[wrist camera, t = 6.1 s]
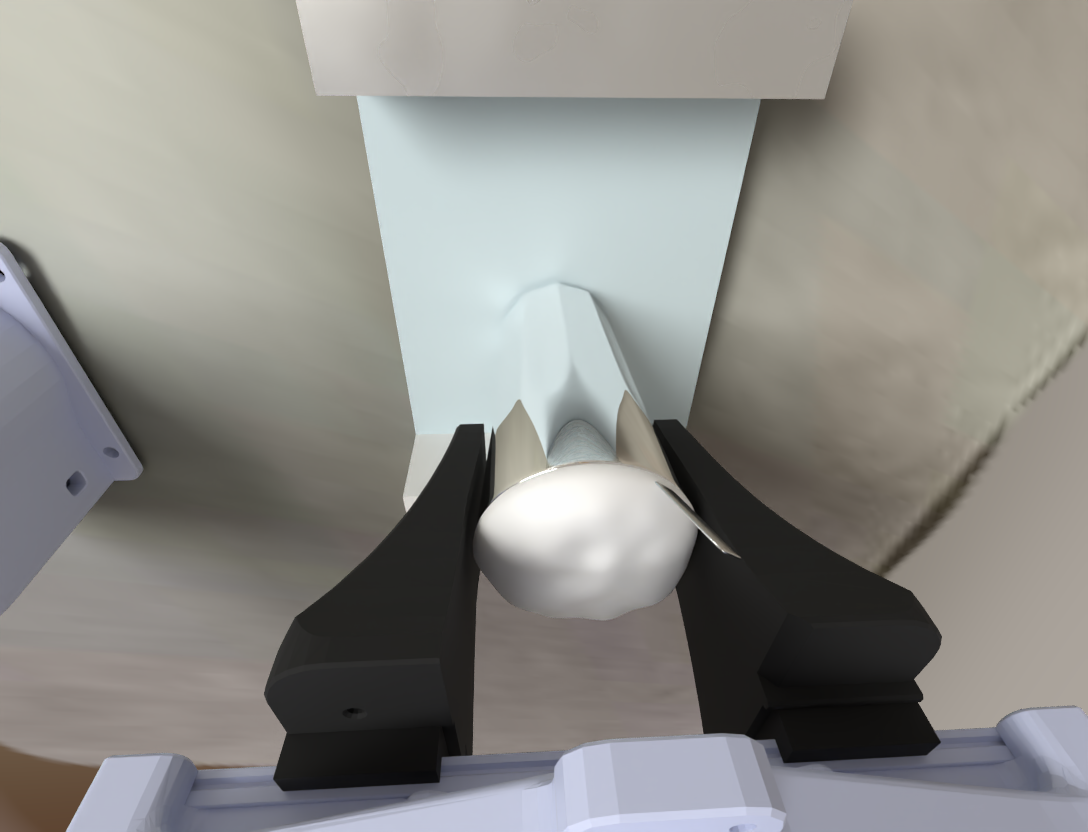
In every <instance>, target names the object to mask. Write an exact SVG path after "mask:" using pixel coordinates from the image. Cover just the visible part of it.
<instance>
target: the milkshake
mask: <svg viewBox="0 0 1088 832" xmlns="http://www.w3.org/2000/svg"><path fill="white" fill-rule="evenodd" d="M698 528H699V529H700V530H701V531H702V532H703V533H704V534H705V535H706V536H707V537H708V538H709V539H710V540H711V541H712V542H713V543H714V545H715V546H716V547H717V548H718V549H719V550H720V551H722V552H723V553H724V554H726V555H729V556H731V557H733V558H735V559H738V560H741V557H740V556H739V555H738V554H737V553H736V552H735V551H734V550H733V549H732V548H731V547H730V546H729V545H728V544H727V543H726V542H725V541H724V540H723V539H722V538H721V537H720V536H719V535H718V534H717V533H716V532H715V531H714V530H713V529H712V528H711V527H710V526H709V525H708V524H707V523H706V522H705V521H704V520H703V519H702V518H701V517H700V516H699V515H698V514H697V513H696V512H695V511H694V509H693V507H692V505H691V503H690V502H689V500H688V498H687V496H686V494H685V491H684V489H683V487H682V485H681V483H680V481H679V479H678V477H677V475H676V472H675V470H674V468H673V466H672V464H671V462H670V460H669V458H668V455H667V453H666V451H665V449H664V447H663V445H662V443H661V441H660V439H659V436H658V434H657V432H656V430H655V428H654V426H653V424H652V422H651V420H650V418H649V415H648V413H647V411H646V408H645V406H644V404H643V401H642V399H641V396H640V394H639V392H638V389H637V387H636V385H635V382H634V380H633V377H632V375H631V373H630V370H629V368H628V366H627V363H626V361H625V359H624V356H623V354H622V351H621V349H620V347H619V344H618V342H617V340H616V337H615V335H614V333H613V330H612V328H611V325H610V323H609V321H608V319H607V316H606V315H605V313H604V312H603V311H602V309H601V308H600V307H599V305H598V304H597V303H596V301H595V300H594V299H593V297H592V296H591V294H590V293H589V292H588V291H585V290H581V289H578V288H574V287H571V286H567V285H564V284H560V283H554V284H550V285H547V286H544V287H541V288H538V289H534V290H531V291H528V292H525V293H524V294H523V295H522V296H521V298H520V299H519V300H518V301H517V303H516V304H515V305H514V306H513V308H512V309H511V310H510V311H509V313H508V314H507V315H506V316H505V320H504V328H503V337H502V345H501V354H500V363H499V372H498V380H497V389H496V398H495V407H494V415H493V423H492V430H491V437H490V443H489V449H488V455H487V462H486V468H485V474H484V480H483V487H482V493H481V499H480V506H479V512H478V518H477V525H476V530H475V534H474V539H473V554H474V558H475V561H476V563H477V565H478V566H479V568H480V569H481V571H482V572H483V573H484V575H485V576H486V577H487V578H488V580H489V581H490V582H491V583H492V585H493V586H494V587H495V589H496V590H497V591H498V592H499V593H500V594H501V595H502V596H503V597H504V598H505V599H506V600H507V601H508V602H509V603H510V604H512V605H514V606H516V607H518V608H520V609H523V610H526V611H530V612H534V613H537V614H541V615H543V616H546V617H550V618H587V619H593V620H611V619H614V618H617V617H619V616H621V615H623V614H625V613H627V612H629V611H632V610H635V609H639V608H644V607H649V606H652V605H655V604H657V603H659V602H660V601H662V600H663V599H665V598H666V597H667V596H668V595H669V594H670V593H671V592H672V591H673V590H674V588H675V587H676V585H677V583H678V582H679V580H680V579H681V577H682V575H683V573H684V571H685V570H686V567H687V565H688V562H689V560H690V557H691V554H692V551H693V548H694V545H695V542H696V538H697V533H698Z"/></svg>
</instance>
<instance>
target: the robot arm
mask: <svg viewBox="0 0 1088 832" xmlns="http://www.w3.org/2000/svg"><path fill="white" fill-rule="evenodd" d="M0 270H1V271H2V272H3V273H4V274H5V276H4V275H2V274H1V273H0V616H1V615H2V614H3V613H4V612H5V611H6V610H7V609H8V608H9V606H10V605H11V604H12V603H13V602H14V601H15V600H16V599H17V597H18V596H19V595H20V594H21V593H22V591H23V590H24V589H25V588H26V587H27V585H28V584H29V583H30V582H31V581H32V579H33V578H34V577H35V576H36V575H37V573H38V572H39V571H40V570H41V568H42V567H43V566H44V565H45V564H46V562H47V561H48V560H49V559H50V558H51V556H52V555H53V554H54V553H55V552H56V550H57V549H58V548H59V547H60V546H61V544H62V543H63V542H64V541H65V539H66V538H67V537H68V536H69V535H70V533H71V532H72V531H73V530H74V529H75V527H76V526H77V525H78V524H79V523H80V521H81V520H82V519H83V518H84V517H85V515H86V514H87V513H88V512H89V510H90V509H91V508H92V507H93V506H94V504H95V503H96V502H97V501H98V500H99V498H100V497H101V496H102V495H103V494H104V492H105V491H106V490H107V489H108V488H109V486H110V485H111V484H112V483H113V481H125V480H135V479H137V478H138V477H139V476H140V474H141V473H142V471H143V467H142V464H141V463H140V461H139V460H138V458H137V456H136V455H135V453H134V451H133V450H132V448H131V447H130V445H129V443H128V442H127V440H126V438H125V437H124V435H123V434H122V432H121V430H120V429H119V427H118V425H117V424H116V422H115V421H114V419H113V417H112V416H111V414H110V412H109V411H108V409H107V408H106V406H105V404H104V403H103V401H102V399H101V398H100V396H99V395H98V393H97V391H96V390H95V388H94V386H93V385H92V383H91V382H90V380H89V378H88V377H87V375H86V373H85V372H84V370H83V369H82V367H81V365H80V364H79V362H78V360H77V359H76V357H75V356H74V354H73V352H72V351H71V349H70V348H69V346H68V344H67V343H66V341H65V339H64V338H63V336H62V335H61V333H60V331H59V330H58V328H57V326H56V325H55V323H54V322H53V320H52V318H51V317H50V315H49V313H48V312H47V310H46V309H45V307H44V305H43V304H42V302H41V300H40V299H39V297H38V296H37V294H36V292H35V291H34V289H33V287H32V286H31V284H30V283H29V281H28V279H27V278H26V276H25V274H24V273H23V271H22V270H21V268H20V266H19V265H18V263H17V261H16V260H15V258H14V257H13V255H12V253H11V252H10V251H9V250H8V248H7V247H6V246H5V245H4V244H2V243H1V242H0ZM653 426H654V428H655V430H656V432H657V434H658V436H659V439H660V441H661V443H662V445H663V447H664V449H665V451H666V453H667V455H668V458H669V460H670V462H671V464H672V466H673V468H674V470H675V472H676V475H677V477H678V479H679V481H680V483H681V485H682V487H683V489H684V491H685V494H686V496H687V498H688V500H689V502H690V503H691V505H692V507H693V509H694V511H695V512H696V513H697V514H698V515H699V516H700V517H701V518H702V519H703V520H704V521H705V522H706V523H707V524H708V525H709V526H710V527H711V528H712V529H713V530H714V531H715V532H716V533H717V534H718V535H719V536H720V537H721V538H722V539H723V540H724V541H725V542H726V543H727V544H728V545H729V546H730V547H731V548H732V549H733V550H734V551H735V552H736V553H737V554H738V555H739V556H740V557H741V560H738V559H735V558H733V557H731V556H729V555H726V554H724V553H723V552H722V551H720V550H719V549H718V548H717V547H716V546H715V545H714V543H713V542H712V541H711V540H710V539H709V538H708V537H707V536H706V535H705V534H704V533H703V532H702V531H701V530H700V529H699V528H698V533H697V538H696V542H695V545H694V548H693V551H692V554H691V557H690V560H689V562H688V565H687V567H686V570H685V571H684V573H683V575H682V577H681V579H680V580H679V582H678V583H677V585H676V591H677V594H678V598H679V603H680V608H681V612H682V617H683V622H684V626H685V631H686V636H687V641H688V646H689V651H690V656H691V661H692V667H693V672H694V678H695V684H696V689H697V695H698V701H699V706H700V713H701V719H702V726H703V732H704V734H698V735H679V736H660V737H641V738H622V739H607V740H600V741H594V742H588V743H583V744H581V745H579V746H577V747H574V748H572V749H570V750H564V751H545V752H527V753H508V754H490V755H472V752H473V698H474V658H475V626H476V601H477V590H478V582H479V574H480V568H479V566H478V565H477V563H476V561H475V558H474V554H473V539H474V534H475V530H476V525H477V518H478V512H479V506H480V499H481V493H482V487H483V480H484V474H485V468H486V462H487V460H486V447H485V433H484V424H460V425H459V426H458V427H457V428H456V430H455V433H454V435H453V438H452V440H451V442H450V444H449V446H448V448H447V450H446V452H445V454H444V456H443V458H442V460H441V461H440V463H439V465H438V466H437V468H436V470H435V472H434V473H433V475H432V477H431V478H430V480H429V482H428V483H427V485H426V486H425V487H424V489H423V490H422V492H421V493H420V495H419V496H418V498H417V499H416V501H415V502H414V503H413V505H412V506H411V508H410V509H409V510H408V511H407V513H406V514H405V515H404V517H403V518H402V519H401V520H400V522H399V523H398V524H397V525H396V526H395V528H394V529H393V530H392V531H391V532H390V533H389V534H388V536H387V537H386V538H385V539H384V540H383V541H382V542H381V543H380V544H379V545H378V546H377V548H376V549H375V550H374V551H373V552H372V553H371V554H370V555H369V556H368V557H367V558H366V559H365V560H364V561H363V562H362V563H360V564H359V565H358V566H357V567H356V568H355V569H354V570H353V571H352V572H351V573H349V574H348V575H347V576H346V577H345V578H344V579H343V580H342V581H341V582H340V583H338V584H337V585H336V586H335V587H334V588H333V589H331V590H330V591H329V592H328V593H326V594H325V595H324V596H322V597H321V598H320V599H319V600H317V601H316V602H315V603H314V604H312V605H311V606H310V607H308V608H307V609H306V610H305V611H303V612H302V613H300V614H299V615H298V616H296V617H295V619H294V620H293V622H292V624H291V626H290V628H289V630H288V632H287V634H286V636H285V638H284V640H283V642H282V644H281V646H280V648H279V650H278V653H277V655H276V658H275V661H274V664H273V667H272V670H271V672H270V675H269V678H268V681H267V684H266V688H265V692H264V695H265V698H266V701H267V703H268V705H269V706H270V708H271V709H272V711H273V712H274V714H275V715H276V717H277V718H278V720H279V721H280V723H281V724H282V726H283V727H284V729H285V730H286V732H287V734H286V738H285V741H284V744H283V747H282V751H281V754H280V757H279V761H278V764H277V766H266V767H248V768H229V769H210V770H197V769H196V767H195V765H194V764H193V762H192V761H191V760H190V759H189V758H187V757H185V756H183V755H179V754H175V753H152V754H133V755H113V756H110V757H108V758H106V759H105V760H104V761H103V763H102V765H101V767H100V769H99V771H98V773H97V775H96V776H95V778H94V780H93V782H92V784H91V786H90V788H89V789H88V791H87V793H86V795H85V797H84V799H83V801H82V803H81V805H80V806H79V808H78V810H77V812H76V814H75V816H74V817H73V819H72V821H71V823H70V825H69V827H68V829H67V831H66V832H1088V716H1087V715H1086V714H1085V713H1084V711H1083V710H1082V709H1081V708H1080V707H1077V706H1057V707H1037V708H1026V709H1020V710H1017V711H1014V712H1012V713H1010V714H1008V715H1006V716H1005V717H1004V718H1003V719H1001V720H1000V721H999V723H998V724H997V726H996V727H992V728H974V729H955V730H937V731H934V729H933V728H932V726H931V724H930V723H929V721H928V719H927V717H926V716H925V714H924V712H923V710H922V709H921V707H920V705H919V704H918V702H921V701H922V700H923V694H922V692H921V690H920V689H919V687H918V685H917V684H916V682H915V680H914V678H915V677H916V676H917V675H918V674H919V673H920V672H921V671H922V669H923V668H924V667H925V666H926V665H927V664H928V663H929V662H930V661H931V660H932V658H933V657H934V656H935V654H936V653H937V651H938V650H939V648H940V645H941V638H942V636H941V634H940V632H939V630H938V628H937V627H936V626H935V624H934V623H933V621H932V620H931V618H930V617H929V615H928V614H927V612H926V611H925V609H924V608H923V607H922V605H921V604H920V602H919V601H918V600H917V598H916V597H915V596H914V595H913V593H912V592H911V591H910V590H907V589H905V588H903V587H901V586H899V585H897V584H895V583H893V582H891V581H889V580H887V579H885V578H882V577H880V576H878V575H876V574H874V573H872V572H870V571H868V570H866V569H864V568H862V567H860V566H858V565H857V564H855V563H853V562H851V561H849V560H848V559H846V558H844V557H842V556H840V555H838V554H837V553H835V552H833V551H832V550H830V549H828V548H827V547H825V546H823V545H822V544H820V543H818V542H817V541H815V540H814V539H812V538H811V537H809V536H808V535H806V534H804V533H803V532H801V531H800V530H798V529H797V528H795V527H794V526H792V525H791V524H790V523H788V522H787V521H785V520H784V519H783V518H781V517H780V516H779V515H777V514H776V513H775V512H773V511H772V510H771V509H769V508H768V507H767V506H765V505H764V504H763V503H762V502H760V501H759V500H758V499H757V498H756V497H754V496H753V495H752V494H751V493H750V492H749V491H747V490H746V489H745V488H744V487H743V486H742V485H741V484H740V483H738V482H737V481H736V480H735V479H734V478H733V477H732V476H731V475H730V474H729V473H728V472H727V471H726V470H725V469H724V468H723V467H722V466H721V465H720V464H719V463H718V462H717V461H716V460H715V459H714V458H713V457H712V456H711V455H710V454H709V453H708V452H707V451H706V450H705V449H704V448H703V447H702V446H701V445H700V444H699V443H698V442H697V440H696V439H695V438H694V437H693V436H692V435H691V434H690V433H689V432H688V431H687V430H686V429H685V427H684V426H683V425H682V424H681V423H680V422H679V421H678V420H677V419H664V420H654V423H653Z"/></svg>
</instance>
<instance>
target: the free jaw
mask: <svg viewBox="0 0 1088 832" xmlns="http://www.w3.org/2000/svg"><path fill="white" fill-rule="evenodd" d="M852 3H853V0H296V4H297V8H298V13H299V18H300V22H301V27H302V31H303V36H304V41H305V45H306V50H307V55H308V59H309V64H310V69H311V73H312V78H313V82H314V87H315V92H316V95H322V96H458V97H595V98H731V99H825V95H826V92H827V88H828V85H829V82H830V78H831V75H832V71H833V68H834V64H835V61H836V58H837V54H838V51H839V47H840V44H841V40H842V37H843V34H844V30H845V27H846V23H847V20H848V16H849V13H850V9H851V6H852Z"/></svg>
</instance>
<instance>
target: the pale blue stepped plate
mask: <svg viewBox="0 0 1088 832" xmlns="http://www.w3.org/2000/svg"><path fill="white" fill-rule="evenodd" d="M357 101H358V107H359V112H360V118H361V124H362V129H363V135H364V141H365V146H366V152H367V158H368V164H369V169H370V175H371V181H372V186H373V192H374V198H375V203H376V209H377V215H378V220H379V226H380V232H381V238H382V243H383V249H384V255H385V260H386V266H387V272H388V277H389V283H390V289H391V294H392V300H393V306H394V312H395V317H396V323H397V329H398V334H399V340H400V346H401V351H402V357H403V363H404V368H405V374H406V380H407V386H408V391H409V397H410V403H411V408H412V414H413V420H414V425H415V431H416V437H415V442H414V447H413V451H412V456H411V461H410V465H409V470H408V475H407V480H406V484H405V489H404V494H403V500H404V504H405V509H406V513H407V511H408V510H409V509H410V508H411V506H412V505H413V503H414V502H415V501H416V499H417V498H418V496H419V495H420V493H421V492H422V490H423V489H424V487H425V486H426V485H427V483H428V482H429V480H430V478H431V477H432V475H433V473H434V472H435V470H436V468H437V466H438V465H439V463H440V461H441V460H442V458H443V456H444V454H445V452H446V450H447V448H448V446H449V444H450V442H451V440H452V438H453V435H454V433H455V430H456V428H457V427H458V426H459V425H460V424H484V433H485V447H486V460H487V455H488V449H489V443H490V437H491V430H492V423H493V415H494V407H495V398H496V389H497V380H498V372H499V363H500V354H501V345H502V337H503V328H504V320H505V316H506V315H507V314H508V313H509V311H510V310H511V309H512V308H513V306H514V305H515V304H516V303H517V301H518V300H519V299H520V298H521V296H522V295H523V294H524V293H525V292H528V291H531V290H534V289H538V288H541V287H544V286H547V285H550V284H554V283H560V284H564V285H567V286H571V287H574V288H578V289H581V290H585V291H588V292H589V293H590V294H591V296H592V297H593V299H594V300H595V301H596V303H597V304H598V305H599V307H600V308H601V309H602V311H603V312H604V313H605V315H606V316H607V319H608V321H609V323H610V325H611V328H612V330H613V333H614V335H615V337H616V340H617V342H618V344H619V347H620V349H621V351H622V354H623V356H624V359H625V361H626V363H627V366H628V368H629V370H630V373H631V375H632V377H633V380H634V382H635V385H636V387H637V389H638V392H639V394H640V396H641V399H642V401H643V404H644V406H645V408H646V411H647V413H648V415H649V418H650V420H651V422H652V424H653V423H654V420H664V419H677V420H678V421H679V422H680V423H681V424H682V425H683V426H684V427H685V429H686V430H687V428H686V426H687V422H688V418H689V413H690V409H691V404H692V400H693V396H694V391H695V387H696V383H697V378H698V374H699V369H700V365H701V361H702V356H703V352H704V347H705V343H706V339H707V334H708V330H709V325H710V321H711V317H712V312H713V308H714V304H715V299H716V295H717V290H718V286H719V282H720V277H721V273H722V268H723V264H724V260H725V255H726V251H727V246H728V242H729V238H730V233H731V229H732V225H733V220H734V216H735V211H736V207H737V203H738V198H739V194H740V189H741V185H742V181H743V176H744V172H745V168H746V163H747V159H748V154H749V150H750V146H751V141H752V137H753V132H754V128H755V124H756V119H757V115H758V110H759V106H760V102H761V99H731V98H595V97H458V96H357Z"/></svg>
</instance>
